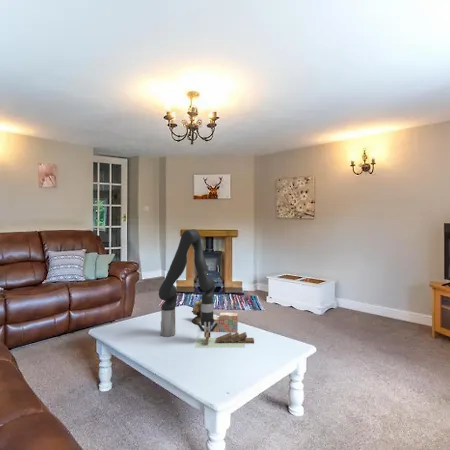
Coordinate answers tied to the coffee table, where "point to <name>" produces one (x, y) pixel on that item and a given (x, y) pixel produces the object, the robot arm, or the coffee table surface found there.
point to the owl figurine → (197, 312)
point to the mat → (217, 344)
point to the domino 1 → (207, 337)
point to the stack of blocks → (226, 323)
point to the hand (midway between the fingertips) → (207, 337)
